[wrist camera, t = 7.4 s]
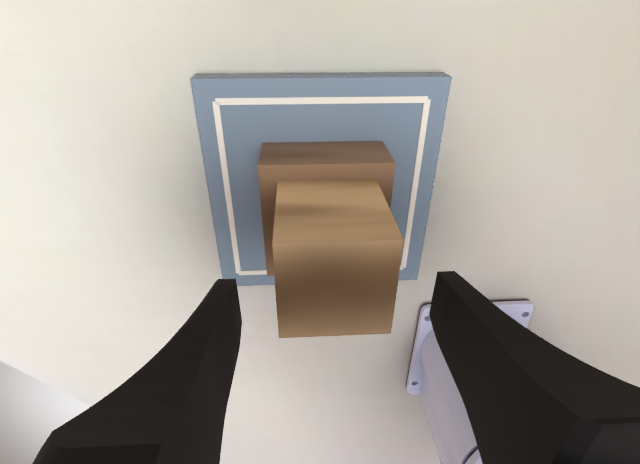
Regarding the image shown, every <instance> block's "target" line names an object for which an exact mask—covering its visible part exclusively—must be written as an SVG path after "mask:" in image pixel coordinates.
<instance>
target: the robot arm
mask: <svg viewBox="0 0 640 464" xmlns="http://www.w3.org/2000/svg"><path fill="white" fill-rule="evenodd" d="M533 310H534V305H533V304H532V302H530V301H503V302H491V301H490V300H488V299H487V298H486V297H485V296H484V295H482V294H481V293H480V292H479V291H478V290H476V289H475V288H474V287H473V286H472V285H470V284H469V283H468V282H467V281H466V280H465V279H463V278H462V277H461V276H460V275H458V274H457V273H456V272H455V271H446V272H437V277H436V282H435V287H434V292H433V297H432V302H431V304H428V305H425V306H423V307H422V308H421V311H420V316H419V321H418V327H417V332H416V337H415V343H414V348H413V353H412V359H411V364H410V369H409V375H408V380H407V386H406V390H407V393H408V394H410V395H420V397H421V401H422V404H423V407H424V410H425V413H426V417H427V420H428V423H429V426H430V429H431V432H432V436H433V439H434V442H435V445H436V448H437V451H438V455H439V458H440V461H441V463H442V464H640V388H639V387H637V386H634V385H632V384H629V383H627V382H624V381H622V380H620V379H618V378H616V377H613V376H611V375H609V374H607V373H605V372H602V371H600V370H598V369H596V368H594V367H592V366H590V365H588V364H586V363H584V362H582V361H580V360H579V359H577V358H575V357H573V356H571V355H569V354H567V353H566V352H564V351H562V350H560V349H559V348H557V347H555V346H553V345H552V344H550V343H549V342H547V341H545V340H544V339H542V338H541V337H539V336H537V335H536V334H534V333H533V332H531V331H530V330H528V329H527V325H528V323H529V320H530V317H531V315H532V312H533ZM426 316H428V317H426ZM241 325H242V319H241V312H240V305H239V298H238V291H237V284H236V279H218V280H217V281H216V282H215V283H214V285H213V286H212V288H211V289H210V291H209V292H208V294H207V295H206V296H205V298H204V299H203V301H202V302H201V303H200V305H199V306H198V307H197V309H196V310H195V311H194V312H193V314H192V315H191V316H190V318H189V319H188V320H187V321H186V323H185V324H184V325H183V326H182V327H181V328H180V329H179V331H178V332H177V333H176V334H175V335H174V336H173V337H172V339H171V340H170V341H169V342H168V343H167V344H166V345H165V346H164V347H163V348H162V349H161V350H160V351H159V352H158V353H157V354H156V355H155V356H154V357H153V358H152V359H151V360H150V361H149V362H148V363H147V364H145V365H144V366H143V367H142V368H141V369H140V370H139V371H138V372H136V373H135V374H134V375H133V376H132V377H130V378H129V379H128V380H127V381H126V382H124V383H123V384H122V385H121V386H119V387H118V388H117V389H115V390H114V391H113V392H111V393H110V394H109V395H107V396H106V397H104V398H103V399H102V400H100V401H99V402H97V403H96V404H95V405H93V406H92V407H90V408H89V409H87V410H86V411H84V412H83V413H81V414H80V415H78V416H76V417H75V418H73V419H71V420H70V421H68V422H67V423H65V424H64V425H62V426H60V427H59V428H57V429H55V430H54V431H52V433H51V434H50V436H49V437H48V439H47V440H46V442H45V443H44V445H43V446H42V448H41V449H40V451H39V453H38V455H37V457H36V458H35V460H34V462H33V464H219V462H220V453H221V444H222V435H223V427H224V419H225V413H226V407H227V402H228V398H229V393H230V389H231V384H232V380H233V375H234V371H235V366H236V361H237V357H238V352H239V346H240V337H241Z"/></svg>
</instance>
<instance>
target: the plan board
mask: <svg viewBox="0 0 640 464" xmlns="http://www.w3.org/2000/svg"><path fill="white" fill-rule="evenodd" d="M190 81H191V87H192V93H193V99H194V105H195V111H196V118H197V124H198V130H199V136H200V142H201V148H202V154H203V161H204V167H205V173H206V179H207V185H208V191H209V197H210V203H211V210H212V216H213V222H214V228H215V234H216V240H217V246H218V252H219V259H220V265H221V271H222V277H223V279H236V284H237V286H246V285H275V275H274V261H273V247H272V241H273V229H274V217H275V205H276V194H277V182H278V181H317V180H366V179H377V181H378V184H379V186H380V188H381V190H382V193H383V195H384V197H385V199H386V201H387V204H388V206H389V208H390V210H391V213H392V215H393V217H394V219H395V221H396V224H397V226H398V228H399V230H400V233H401V235H402V237H403V239H404V242H403V249H402V256H401V263H400V270H399V277H398V280H417V276H418V271H419V265H420V259H421V253H422V247H423V241H424V235H425V230H426V224H427V218H428V212H429V206H430V200H431V194H432V189H433V183H434V177H435V171H436V165H437V159H438V153H439V148H440V142H441V136H442V130H443V124H444V118H445V113H446V107H447V101H448V95H449V89H450V83H451V76H449V75H447V74H445V73H443V72H438V73H293V74H195V75H194V76H193V77H192V78H191V79H190Z"/></svg>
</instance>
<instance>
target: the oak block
mask: <svg viewBox="0 0 640 464" xmlns="http://www.w3.org/2000/svg"><path fill="white" fill-rule="evenodd" d="M403 242H404V239H403V237H402V235H401V233H400V230H399V228H398V226H397V224H396V221H395V219H394V217H393V215H392V213H391V210H390V208H389V206H388V204H387V201H386V199H385V197H384V195H383V193H382V190H381V188H380V186H379V184H378V181H377V179H366V180H317V181H278V182H277V194H276V205H275V217H274V229H273V241H272V247H273V261H274V275H275V288H276V302H277V316H278V330H279V338H290V337H315V336H339V335H363V334H388V333H391V328H392V320H393V313H394V306H395V299H396V292H397V285H398V277H399V270H400V263H401V256H402V249H403Z"/></svg>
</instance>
